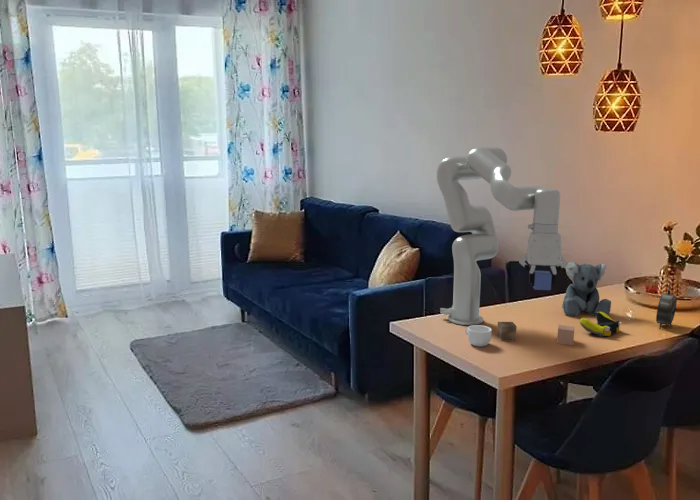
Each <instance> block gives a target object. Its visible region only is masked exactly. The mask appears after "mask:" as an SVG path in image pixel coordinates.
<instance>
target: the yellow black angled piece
mask: <svg viewBox="0 0 700 500" xmlns="http://www.w3.org/2000/svg"><path fill="white" fill-rule="evenodd" d="M595 319H596V321H597V323H595V322H593V321H591V320H590V319H588V318H586V317H581V318H580V319H579V324H580V326H581V327H582V328H583V329H584V330H585V331H586V332H589V333H592V334H595V335H596V336H597V337H609V336H612V335H615V334H617V333H619V332H620V325H621V323H622V321H620V320H614V319H612V318H611V317H610V315H607V314H605V313H603V312H597V313H596V316H595Z"/></svg>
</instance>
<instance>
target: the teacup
mask: <svg viewBox="0 0 700 500" xmlns="http://www.w3.org/2000/svg"><path fill="white" fill-rule="evenodd" d="M464 331H465V334H466V335H467V339H468V342H469V343H470V344H471V345H472V346H475V347H480V348H481V347H486V346H487V345H489V343H490V342H491V340H492V334H493V333H492V331H493V330H492V328H491V327H490V326H486V325H480V324H476V325H468V326H467V327H466V328H465V330H464Z"/></svg>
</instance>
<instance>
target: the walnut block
mask: <svg viewBox="0 0 700 500" xmlns="http://www.w3.org/2000/svg"><path fill="white" fill-rule="evenodd" d="M496 330H497V332H496V334H497V335H496V336H497V338H498V339H499V340H500V341H517V325H516V323H514V322H513V321H497V329H496Z"/></svg>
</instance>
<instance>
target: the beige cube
mask: <svg viewBox="0 0 700 500" xmlns="http://www.w3.org/2000/svg"><path fill="white" fill-rule="evenodd" d="M557 326H558V327H557V340H556V343H557V344H560V345H569V346H574V342H575V341H574V340H575V326H574V325H564V324H558V325H557Z"/></svg>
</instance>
